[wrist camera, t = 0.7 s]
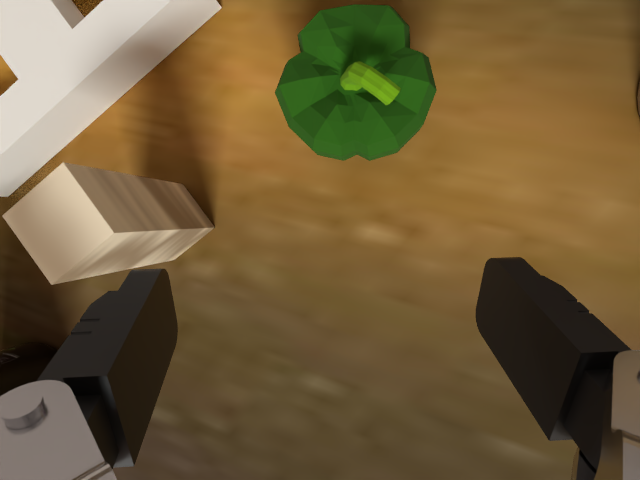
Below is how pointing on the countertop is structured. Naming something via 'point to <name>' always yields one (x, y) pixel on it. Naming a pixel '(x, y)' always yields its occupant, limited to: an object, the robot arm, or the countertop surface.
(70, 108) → the socket hub
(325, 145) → the bell pepper
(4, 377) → the supplement bottle
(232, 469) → the countertop surface
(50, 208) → the beech plug
